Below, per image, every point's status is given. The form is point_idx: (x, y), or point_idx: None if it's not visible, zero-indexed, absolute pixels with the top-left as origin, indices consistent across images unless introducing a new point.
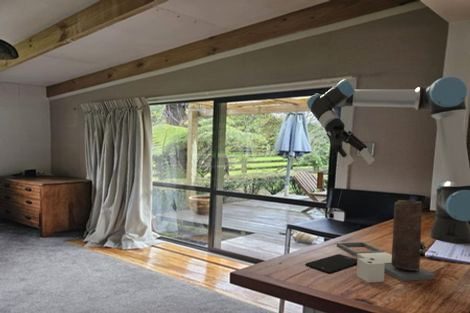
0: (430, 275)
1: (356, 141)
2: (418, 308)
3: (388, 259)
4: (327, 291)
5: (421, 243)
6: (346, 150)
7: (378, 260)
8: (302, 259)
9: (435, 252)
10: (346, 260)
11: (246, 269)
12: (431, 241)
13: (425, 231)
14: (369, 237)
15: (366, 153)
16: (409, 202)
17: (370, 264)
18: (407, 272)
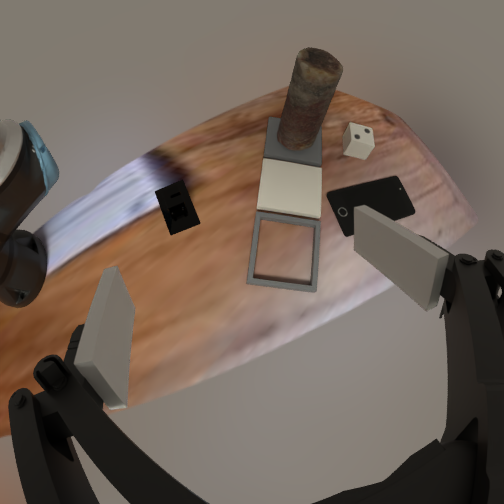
0: (276, 118)
1: (125, 467)
2: (348, 94)
3: (286, 175)
4: (412, 145)
5: (177, 185)
6: (417, 242)
7: (351, 131)
8: None
9: (136, 202)
10: (353, 202)
11: (471, 224)
12: (67, 265)
13: (12, 333)
14: (174, 340)
15: (108, 327)
16: (312, 63)
17: (369, 127)
18: None
